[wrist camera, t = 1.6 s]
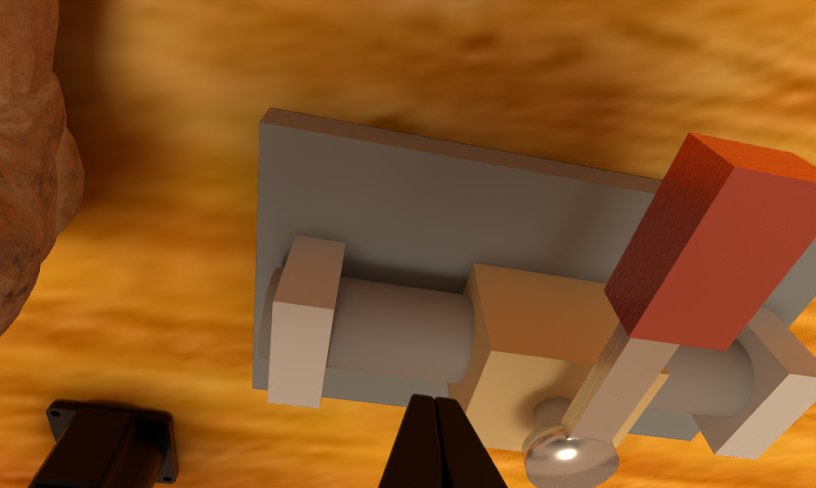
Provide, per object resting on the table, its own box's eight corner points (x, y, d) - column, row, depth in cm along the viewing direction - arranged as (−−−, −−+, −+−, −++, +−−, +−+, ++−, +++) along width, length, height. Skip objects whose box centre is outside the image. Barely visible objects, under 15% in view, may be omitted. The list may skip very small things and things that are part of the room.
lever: (585, 464, 18) (602, 514, 16) (508, 455, 18) (518, 505, 16) (800, 154, 11) (862, 191, 10) (680, 130, 11) (725, 164, 9)
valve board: (678, 417, 28) (757, 561, 22) (259, 365, 26) (212, 512, 19) (842, 213, 21) (1035, 344, 14) (269, 108, 18) (197, 211, 12)
